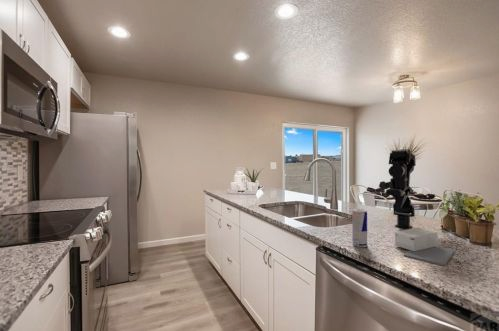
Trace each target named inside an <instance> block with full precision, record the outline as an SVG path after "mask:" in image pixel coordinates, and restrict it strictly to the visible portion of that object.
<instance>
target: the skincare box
mask: <svg viewBox="0 0 499 331" xmlns="http://www.w3.org/2000/svg"><path fill="white" fill-rule="evenodd" d="M394 246H395V247H396V246H397V247H399V248H402V249H404V250H405V249H406V250H407V251H408V250H411V251H418V250H422V249H427V248H431V247H438V231H434V230H430V229H425V228H421V227H415V228H413V227H412V228H410V229H403V230H398V231H397V230H396V231H394Z"/></svg>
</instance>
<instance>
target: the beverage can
mask: <svg viewBox="0 0 499 331" xmlns="http://www.w3.org/2000/svg"><path fill="white" fill-rule="evenodd" d="M351 213H352V218H351V220H352V245H353V246H354V247H357V248H366V247H367V246H368V211H367V210H366V209H363V208H353V209H352V212H351Z"/></svg>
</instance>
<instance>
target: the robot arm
mask: <svg viewBox="0 0 499 331" xmlns="http://www.w3.org/2000/svg"><path fill="white" fill-rule="evenodd" d="M416 162H417V161H416V156H415V154H413V153H412V152H411V149H409V148H407V149H406V148H405V149H398V150H397V149H396V150H395V149H394V150H391V152H390V153H389V159H388V165H391V166H390V167H389V169H388V174H389V176H391V178H390V181H387V182H386V181H384V180H383V181H379V184H378V187H379V188H380V190H381V191H385V196H391V197H393V198H394V203H393V206H392V207H393V209H392V210H393V216H397V217H396V219H397V220H396V225H394V227H395V228H401V229H405V230H407V229H412V228H413V225H411V218H414V217H415V216H416V215H415V208H414V205H413V204H412V201H411V198H410V197H409V195H410V193H413V188H412V187H411V186H410V184H411V183H410V180H411V173H412V172H413V171H414V170H415V166H416V165H417V164H416Z"/></svg>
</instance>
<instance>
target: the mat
mask: <svg viewBox="0 0 499 331" xmlns="http://www.w3.org/2000/svg"><path fill="white" fill-rule="evenodd" d="M454 253H455V250H454V249H448V248H444V247H439V246H435V247H431V248H427V249H422V250H418V251H411V250H408V249H407V251H406V252H405V253H403V256H404V257H407V258H410V259H413V260H419V261H423V262H425V263H430V264H435V265H439V266H442V267H446V265H447V264H448V262H449V260H450V259H451V257H452V256H453V255H454Z"/></svg>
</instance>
